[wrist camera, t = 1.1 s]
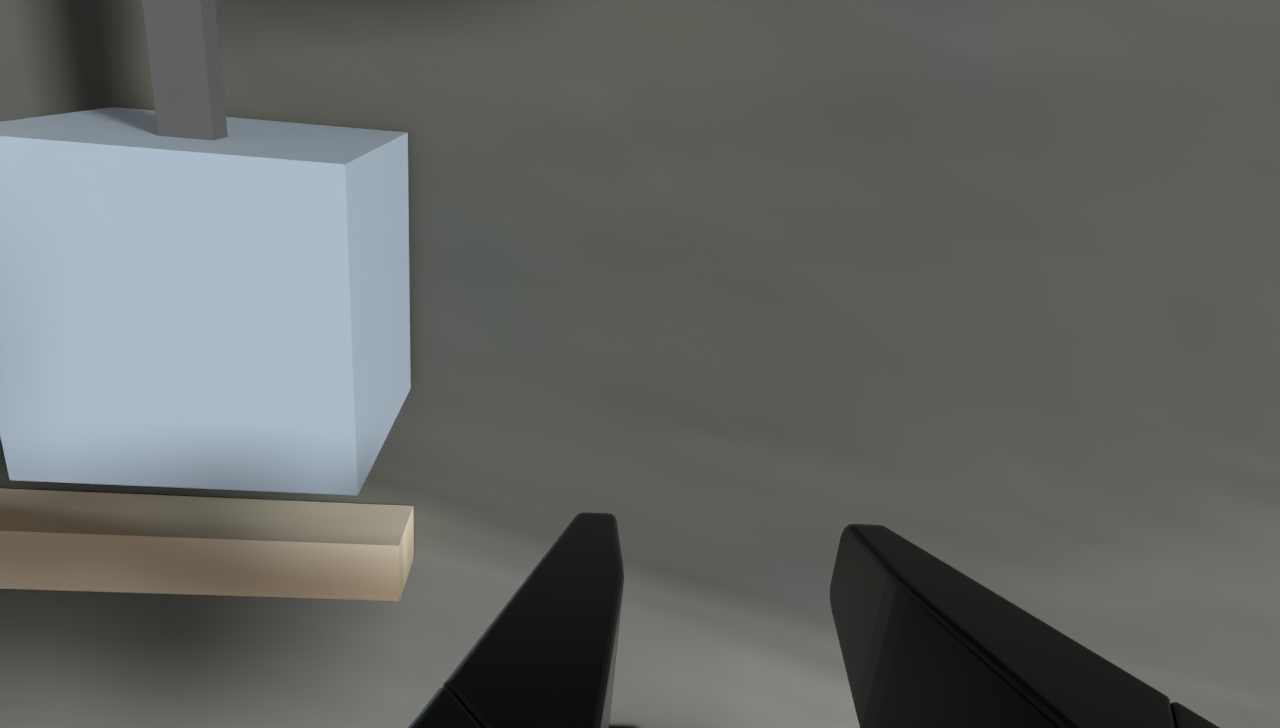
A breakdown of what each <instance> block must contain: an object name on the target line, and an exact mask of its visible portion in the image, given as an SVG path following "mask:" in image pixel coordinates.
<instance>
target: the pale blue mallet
mask: <svg viewBox="0 0 1280 728" xmlns="http://www.w3.org/2000/svg"><path fill="white" fill-rule="evenodd" d="M142 4H143V13H144V21H145V30H146V38H147V47H148V55H149V63H150V72H151V80H152V89H153V97H154V106H155V111H152V110H141V109H129V108H118V107H110V108H102V109H95V110H87V111H80V112H72V113H64V114H57V115H49V116H42V117H34V118H26V119H19V120H11V121H4V122H0V437H1V442H2V446H3V451H4V456H5V460H6V465H7V470H8V474H9V479H10V480H14V481H37V482H60V483H83V484H106V485H129V486H152V487H175V488H198V489H222V490H245V491H268V492H291V493H314V494H337V495H358V494H359V492H360V490H361V488H362V486H363V484H364V482H365V480H366V478H367V476H368V474H369V472H370V470H371V468H372V466H373V464H374V462H375V460H376V458H377V456H378V454H379V451H380V449H381V447H382V445H383V443H384V441H385V439H386V437H387V435H388V433H389V431H390V429H391V427H392V425H393V423H394V421H395V419H396V417H397V415H398V413H399V411H400V409H401V407H402V405H403V403H404V401H405V399H406V397H407V395H408V393H409V391H410V389H411V388H410V295H409V203H408V133H406V132H394V131H383V130H371V129H360V128H348V127H337V126H325V125H314V124H302V123H290V122H279V121H267V120H256V119H244V118H233V117H226V112H225V100H224V89H223V78H222V66H221V55H220V44H219V32H218V21H217V10H216V0H142Z"/></svg>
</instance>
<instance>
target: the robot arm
mask: <svg viewBox="0 0 1280 728" xmlns="http://www.w3.org/2000/svg"><path fill="white" fill-rule="evenodd" d="M623 582H624V571H623V562H622V555H621V548H620V541H619V535H618V528H617V521H616V518H615V516H614V515H612V514H605V513H579V514H578V515H577V516H576V517H575V518H574V519H573V520H572V522H571V523H570V524H569V526H568V527H567V528H566V529H565V531H564V532H563V533H562V534H561V536H560V537H559V538H558V540H557V541H556V542H555V543H554V545H553V546H552V547H551V548H550V550H549V551H548V552H547V553H546V555H545V556H544V557H543V559H542V560H541V561H540V562H539V564H538V565H537V566H536V567H535V569H534V570H533V571H532V573H531V574H530V575H529V576H528V578H527V579H526V580H525V581H524V583H523V584H522V585H521V587H520V588H519V589H518V590H517V592H516V593H515V594H514V595H513V597H512V598H511V599H510V600H509V602H508V603H507V604H506V606H505V607H504V608H503V609H502V611H501V612H500V613H499V614H498V616H497V617H496V618H495V620H494V621H493V622H492V623H491V625H490V626H489V627H488V628H487V630H486V631H485V632H484V633H483V635H482V636H481V637H480V639H479V640H478V641H477V642H476V644H475V645H474V646H473V647H472V649H471V650H470V651H469V653H468V654H467V655H466V656H465V658H464V659H463V660H462V661H461V663H460V664H459V665H458V666H457V668H456V669H455V670H454V672H453V673H452V674H451V675H450V677H449V678H448V679H447V680H446V682H445V683H444V686H443V688H440V689H439V690H438V691H437V692H436V694H435V695H434V696H433V698H432V699H431V700H430V701H429V703H428V704H427V705H426V707H425V708H424V709H423V710H422V712H421V713H420V714H419V716H418V717H417V718H416V719H415V720H414V721H413V723H412V724H411V725H410V726H409V727H408V728H609V722H610V712H611V702H612V692H613V682H614V672H615V662H616V652H617V642H618V632H619V622H620V613H621V603H622V593H623ZM830 603H831V609H832V613H833V618H834V622H835V626H836V630H837V634H838V639H839V643H840V647H841V651H842V655H843V659H844V664H845V668H846V672H847V676H848V680H849V684H850V689H851V693H852V697H853V701H854V705H855V709H856V713H857V717H858V721H859V724H860V728H1219V727H1218V726H1216V725H1214V724H1213V723H1211V722H1209V721H1208V720H1206V719H1204V718H1203V717H1201V716H1199V715H1198V714H1196V713H1194V712H1193V711H1191V710H1189V709H1188V708H1186V707H1184V706H1183V705H1181V704H1179V703H1177V702H1173V703H1172V704H1171V703H1170V700H1169V698H1168V697H1167V696H1166V695H1164V694H1162V693H1161V692H1159V691H1157V690H1156V689H1154V688H1152V687H1151V686H1149V685H1147V684H1146V683H1144V682H1142V681H1141V680H1139V679H1137V678H1136V677H1134V676H1132V675H1131V674H1129V673H1127V672H1126V671H1124V670H1122V669H1121V668H1119V667H1117V666H1116V665H1114V664H1112V663H1111V662H1109V661H1107V660H1106V659H1104V658H1102V657H1101V656H1099V655H1097V654H1096V653H1094V652H1092V651H1091V650H1089V649H1087V648H1086V647H1084V646H1082V645H1081V644H1079V643H1077V642H1076V641H1074V640H1072V639H1071V638H1069V637H1067V636H1066V635H1064V634H1062V633H1061V632H1059V631H1057V630H1056V629H1054V628H1052V627H1051V626H1049V625H1047V624H1046V623H1044V622H1042V621H1041V620H1039V619H1037V618H1036V617H1034V616H1032V615H1031V614H1029V613H1027V612H1026V611H1024V610H1023V609H1021V608H1019V607H1018V606H1016V605H1014V604H1013V603H1011V602H1009V601H1008V600H1006V599H1004V598H1003V597H1001V596H999V595H998V594H996V593H994V592H993V591H991V590H989V589H988V588H986V587H984V586H983V585H981V584H979V583H978V582H976V581H974V580H973V579H971V578H969V577H968V576H966V575H964V574H963V573H961V572H959V571H958V570H956V569H954V568H953V567H951V566H949V565H948V564H946V563H944V562H943V561H941V560H939V559H938V558H936V557H934V556H933V555H931V554H929V553H928V552H926V551H924V550H923V549H921V548H919V547H918V546H916V545H914V544H913V543H911V542H909V541H908V540H906V539H904V538H903V537H901V536H899V535H898V534H896V533H894V532H893V531H891V530H889V529H888V528H886V527H884V526H881V525H868V524H850V525H848V526H847V527H846V528H844V530H843V532H842V535H841V538H840V543H839V547H838V552H837V557H836V562H835V566H834V571H833V576H832V580H831V586H830Z"/></svg>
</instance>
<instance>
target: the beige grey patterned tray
mask: <svg viewBox="0 0 1280 728" xmlns="http://www.w3.org/2000/svg"><path fill="white" fill-rule="evenodd" d="M413 559H414V525H413V506H403V505H380V504H356V503H333V502H309V501H286V500H262V499H239V498H215V497H192V496H168V495H144V494H121V493H97V492H74V491H50V490H27V489H3V488H0V589H29V590H61V591H94V592H126V593H158V594H190V595H222V596H254V597H286V598H319V599H351V600H383V601H400V599H401V596H402V593H403V590H404V587H405V584H406V581H407V577H408V574H409V571H410V568H411V565H412V562H413Z"/></svg>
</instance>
